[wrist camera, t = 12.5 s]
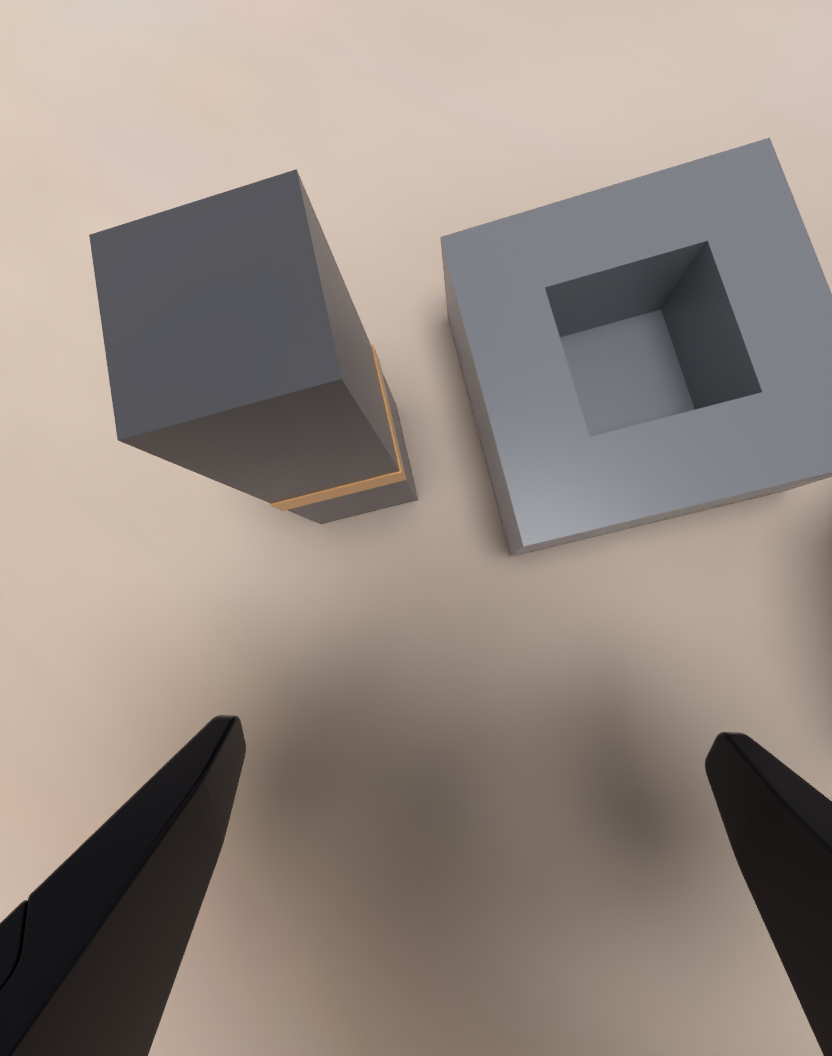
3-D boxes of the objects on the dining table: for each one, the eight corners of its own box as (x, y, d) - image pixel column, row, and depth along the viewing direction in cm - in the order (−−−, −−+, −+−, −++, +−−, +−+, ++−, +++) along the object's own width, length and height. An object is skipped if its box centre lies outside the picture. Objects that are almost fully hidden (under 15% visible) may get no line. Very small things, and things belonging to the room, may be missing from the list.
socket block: (786, 490, 17) (895, 456, 13) (511, 556, 18) (523, 546, 13) (698, 245, 19) (769, 137, 14) (448, 317, 19) (440, 237, 15)
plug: (419, 500, 19) (344, 381, 8) (319, 525, 19) (115, 443, 8) (396, 403, 19) (298, 166, 8) (300, 429, 20) (86, 233, 9)
